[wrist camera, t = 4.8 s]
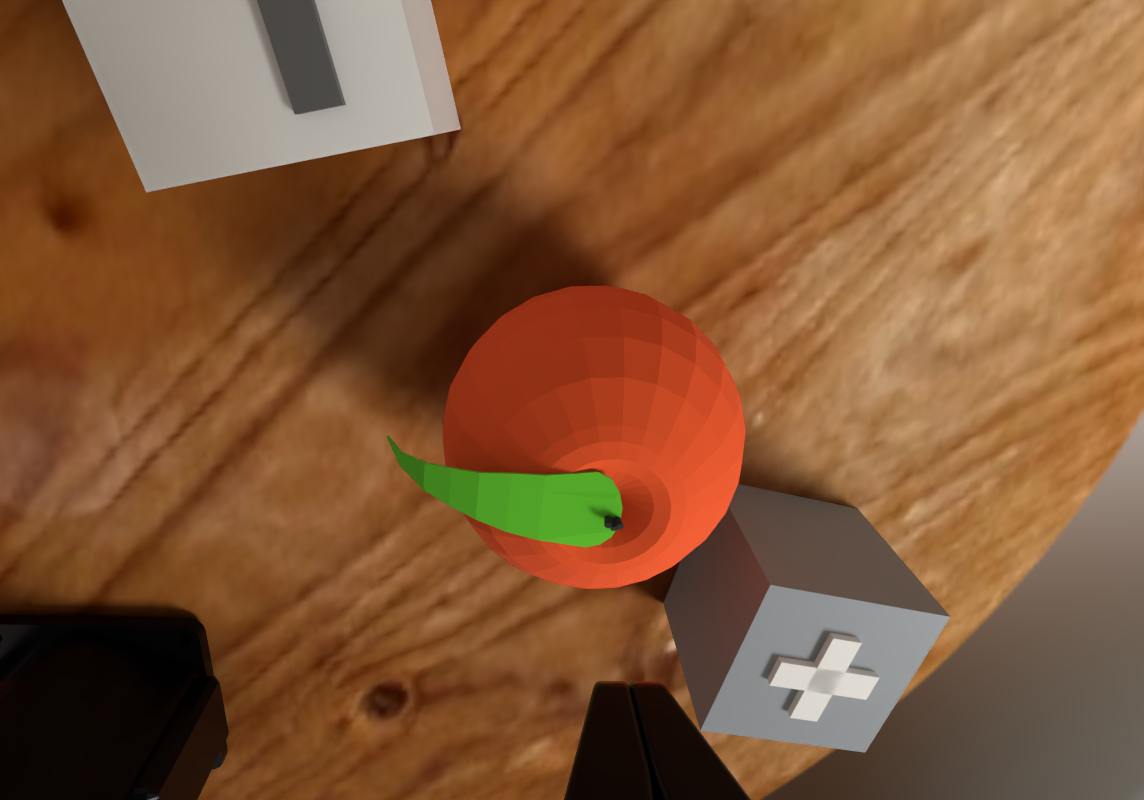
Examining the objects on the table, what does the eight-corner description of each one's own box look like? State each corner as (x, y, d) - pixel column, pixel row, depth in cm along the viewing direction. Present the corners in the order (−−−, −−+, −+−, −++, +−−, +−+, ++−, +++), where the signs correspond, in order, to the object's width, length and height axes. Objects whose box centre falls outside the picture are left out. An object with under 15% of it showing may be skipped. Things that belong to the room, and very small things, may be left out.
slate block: (662, 601, 22) (702, 737, 17) (713, 477, 20) (773, 590, 15) (795, 624, 23) (868, 758, 18) (856, 507, 21) (955, 622, 16)
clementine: (413, 473, 19) (357, 658, 12) (422, 237, 16) (355, 316, 10) (675, 492, 20) (749, 674, 13) (725, 272, 17) (847, 367, 11)
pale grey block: (258, 169, 15) (139, 193, 11) (167, -80, 13) (-30, -188, 9) (460, 129, 15) (433, 135, 11) (401, -129, 13) (333, -262, 9)
